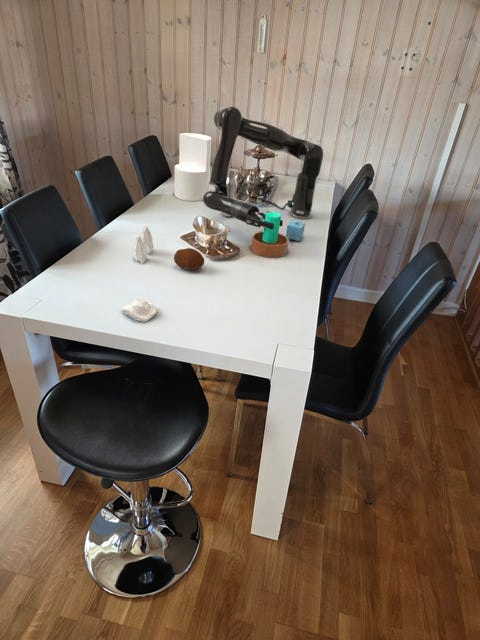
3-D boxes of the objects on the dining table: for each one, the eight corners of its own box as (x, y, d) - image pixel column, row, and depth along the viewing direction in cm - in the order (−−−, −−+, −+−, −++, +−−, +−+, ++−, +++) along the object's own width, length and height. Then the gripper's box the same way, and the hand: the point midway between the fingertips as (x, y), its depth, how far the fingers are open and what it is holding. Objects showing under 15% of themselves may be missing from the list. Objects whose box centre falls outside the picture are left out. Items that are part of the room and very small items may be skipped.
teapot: (297, 245, 179) (300, 228, 175) (283, 242, 180) (285, 225, 176) (303, 235, 189) (306, 219, 185) (289, 233, 190) (292, 216, 186)
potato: (175, 261, 157) (175, 242, 153) (205, 264, 158) (206, 245, 153) (171, 272, 150) (171, 252, 146) (203, 275, 150) (203, 255, 146)
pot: (244, 244, 175) (246, 233, 173) (275, 241, 181) (277, 229, 178) (261, 259, 165) (263, 247, 162) (293, 255, 171) (295, 243, 168)
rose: (117, 308, 120) (124, 290, 128) (118, 321, 123) (125, 303, 131) (154, 310, 121) (158, 292, 129) (154, 323, 124) (158, 305, 132)
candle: (279, 238, 172) (283, 209, 166) (275, 244, 168) (279, 214, 161) (264, 235, 174) (268, 206, 167) (260, 240, 169) (264, 211, 162)
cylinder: (190, 188, 232) (191, 131, 216) (215, 196, 224) (218, 138, 209) (167, 194, 219) (167, 135, 204) (193, 203, 212) (195, 142, 196)
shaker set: (145, 248, 164) (144, 220, 158) (156, 250, 164) (155, 222, 158) (132, 261, 154) (130, 232, 148) (143, 263, 154) (142, 234, 148)
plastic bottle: (218, 216, 200) (221, 171, 189) (224, 212, 205) (227, 168, 194) (231, 219, 198) (234, 174, 187) (237, 215, 203) (240, 171, 192)
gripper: (233, 206, 168) (267, 219, 159) (256, 199, 177) (290, 212, 168) (231, 224, 172) (264, 238, 163) (254, 217, 181) (287, 230, 172)
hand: (277, 225), depth 166 cm, fingers closed on candle, 5 cm apart
